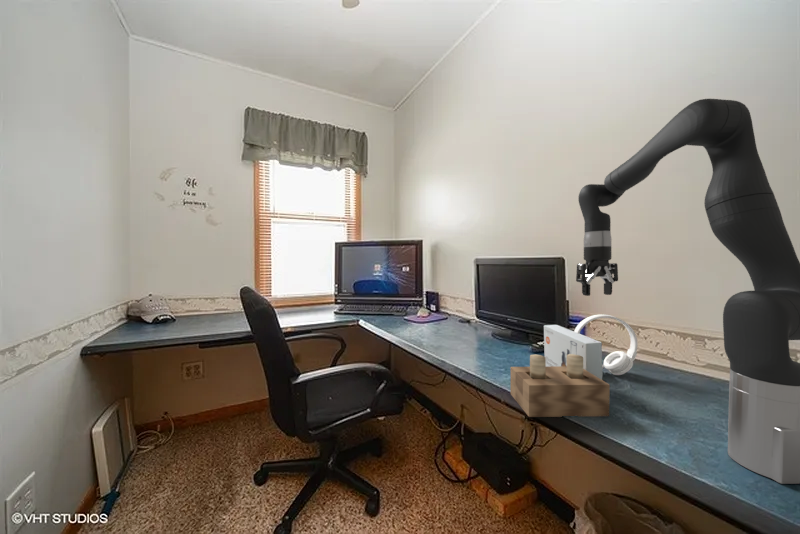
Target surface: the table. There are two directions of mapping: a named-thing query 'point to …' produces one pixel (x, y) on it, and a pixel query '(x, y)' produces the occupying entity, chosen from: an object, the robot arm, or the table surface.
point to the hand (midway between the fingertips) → (597, 295)
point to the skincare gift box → (571, 348)
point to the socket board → (559, 393)
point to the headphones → (618, 359)
